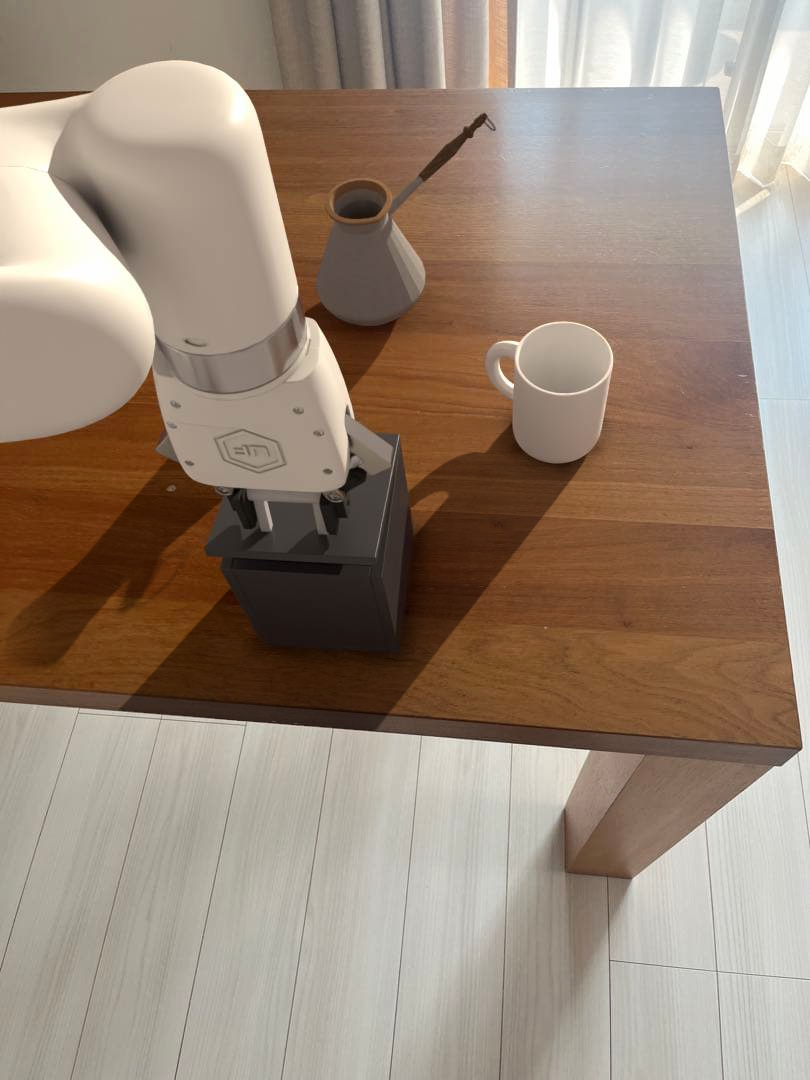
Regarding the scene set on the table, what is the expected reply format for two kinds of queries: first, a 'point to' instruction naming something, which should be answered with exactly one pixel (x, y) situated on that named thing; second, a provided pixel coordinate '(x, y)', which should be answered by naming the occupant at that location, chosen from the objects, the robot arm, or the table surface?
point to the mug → (555, 388)
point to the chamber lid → (307, 524)
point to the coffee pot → (375, 247)
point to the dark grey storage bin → (333, 591)
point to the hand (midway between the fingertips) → (294, 512)
